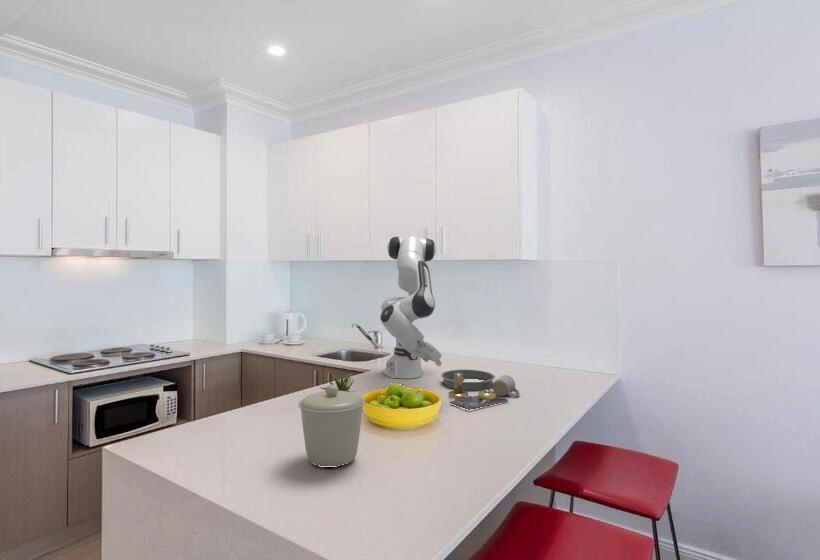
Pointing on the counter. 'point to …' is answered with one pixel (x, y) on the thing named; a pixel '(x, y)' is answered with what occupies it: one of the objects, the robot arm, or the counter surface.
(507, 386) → the ceramic mug
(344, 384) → the house plant
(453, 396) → the brass joystick knob
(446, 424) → the counter surface
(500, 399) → the carrier plate
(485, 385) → the cake pan
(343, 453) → the canister
